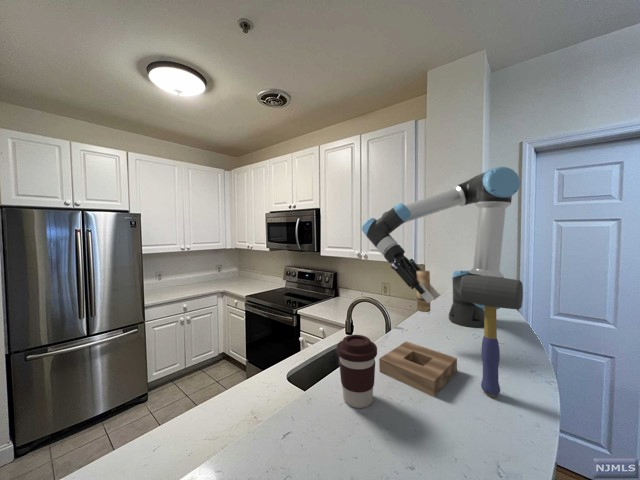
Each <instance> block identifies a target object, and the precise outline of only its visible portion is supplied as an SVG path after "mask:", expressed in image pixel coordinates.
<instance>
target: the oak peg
mask: <svg viewBox="0 0 640 480" xmlns="http://www.w3.org/2000/svg"><path fill="white" fill-rule="evenodd" d="M416 276H417V281H418V282H419V284H420V283H421V284H422V285H423V286H424V287H425V288H426V289H427V290H428V292H429V293H430V284H431V273H430V270H425V269H424V270H423V269H421V270H418V271H416ZM416 309H417V311H418V312H422V313H429V312H431V302H429V303H427V302H426V300H425V299H424V298H423V297H422V296H421V295H420V293H419V292H418V291H417V290H416Z"/></svg>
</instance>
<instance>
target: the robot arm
mask: <svg viewBox="0 0 640 480" xmlns="http://www.w3.org/2000/svg"><path fill="white" fill-rule="evenodd" d="M520 188H521V178H520V176H519V174H518V173H517V172H516V171H515V170H513V168H510V167H506V166H497V167H493V168H490V169H488V170H486V171H484V172H482V173H480V174H477V175H475V176H473V177H472V178H470V179H467V180H466V181H464V182H461V183H459V184H457V185H454V187H453V188H451V189H449V190H446V191H443V192H440V193H438V194H435V195H431V196H428V197H426V198H425V197H424V198H423V199H419V200H417V201H414V202H412V203H411V202H410V203H407V204H404V203H402V202H399V203H397V204H396V205H394V206H393V207H392V208H391V209H389V210H387V211H385V212H383V213H382V215H381V217H380V218H378V219H376V218H375V217H370V218H369V219H366V221H365V222H364V223H363V225H362V226H361V231H362V232H363V234H364V235H365V237H366V238H367V239H368V240H369V241H370V243H372V245H373V246H374V247H375V248H376V249H377V251H378V252H379V253H380V254H381V255H382V256H383V257H384V258H385V260H386V261H387V262H388V263H389V264H391V265H390V268H392V270H394V271H395V273H396V274H398V276H399V277H400V278H401V280H402V281H403V282H404V283H405V284H406V285H407V286H408V287H409V288H410V289H411V290H414V289H415V290H416V292H417V291H418V292H419V293H420V295H421V296H422V297H423V298H424V299H425V300H426V302H427V303H429V302H430V303H431V301H433V300H434V301H435V300H437V299H438V298H439V297H440V296H441V294H440V293H439V292H438V291H437V289H436V288H435V287H434V286H433V284H431V283H430V293H429V292H428V290H427V289H426V288H425V287H424V286H423V285H422V284H421V283H420V284H419V282H418V281H417V276H416V271H418V270H422V269H421V267H420V266H419V265H418V264H417V263H416V261H415V260H414V259H413V258H411V259H409V258H408V257H407V256H405V253H406V251H405V249H404V248H403V247H402V246H401V245H400V244H399V243H398V241H397V240H395V238H394V237H393V236H392V235H391V234H392V233H393V232H394V231H395V230H396V229H398V228H399V227H400V226H401V225H403V224H405V223H409V222H411V221H414V220H418V219H420V218H423V217H427V216H429V215H432V214H436V213H439V212H441V211H445V210H448V209H450V208H454V207H456V206H457V207H458V206H460V207H465V206H468V205H471V204H474V205H475V206H476V207H477V208H478V215H477V216H478V217H477V226H476V237H475V247H474V256H473V257H474V259H473V267H472V268H471V269H469V270H454V271H453V273H452V277H451V280H452V304H451V306H450V310H449V312H448V320H449V321H450V322H452V323H454V324H456V325H459V326H462V327H469V328H483V327H484V317H485V305H480V304H475V303H471V302H467V301H464V300H463V299H462V298H461V296H460V283H461V279H462V277H463V276H465V275H476V276H493V277H501V278H505V276H504V274H503V273H502V272H501V271H500V270H501V269H500V268H501V259H502V249H503V241H504V240H503V239H504V238H503V237H504V230H505V229H504V227H505V220H506V219H505V218H506V209H507V208H508V207H510V206H511V205H512V200H513V199H512V197H513V196H514V195H515V194H516V193H517V192H518V191H519V189H520ZM499 309H500V308H498V307H496V311H497V310H499Z"/></svg>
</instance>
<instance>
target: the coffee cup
mask: <svg viewBox="0 0 640 480" xmlns="http://www.w3.org/2000/svg"><path fill="white" fill-rule="evenodd" d="M336 354H337V355H338V356H339V361H338V363H339V364H338V365H339V374H340V383H341V386H342V387H341V388H342V397H343V400H344V402H345V403H346V405H349V406H350V407H353V408H359V409H361V408H366V407H368V406H370V405H371V404H372V402H373V400H374V399H373V395H374V385H375V377H376V376H375V375H376V374H375V373H376V360H375V358H377V355H378V347H377V345H376V344H375V342H373V341H371V340H370V338H369V337H367V336H365V335H363V334H349V335H346V336H344V338H343V339H342V340H340V341H339V342H338V343H337V344H336Z"/></svg>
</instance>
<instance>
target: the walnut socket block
mask: <svg viewBox="0 0 640 480" xmlns="http://www.w3.org/2000/svg"><path fill="white" fill-rule="evenodd" d="M378 369H379V372H380V373H382V374H384V375H386V376H388V377H390V378H393V379H395V380H396V381H398V382H401V383H404V384H405V385H407V386H410V387H412V388H413V389H416V390H418V391H420V392H423V393H425V394H426V395H429V396H431V397H433V398H435V397H436V396H437V395H438V393H439V392H440V391H441V390H443V389H442V388H444V387H445V386H446V384H447V383H448V382H449V381H450V380H451V379H452V377H453V376H454V375H456V373H457V372H458V357H454V356H452V355H448V354H446V353H443V352H440V351H436V350H434V349H430V348H427V347H424V346H423V345H422V346H421V345H419V344H415V343H412V342H409V341H405V342H403V343H401V344H400V345H399V346H397V347H395V348H393V349H392V350H390V351H389V352H387V353H385V354H384V355H383V356H381V357H379V368H378Z"/></svg>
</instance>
